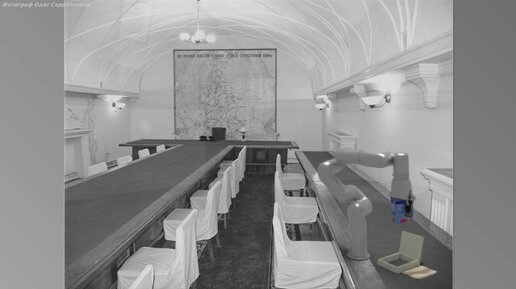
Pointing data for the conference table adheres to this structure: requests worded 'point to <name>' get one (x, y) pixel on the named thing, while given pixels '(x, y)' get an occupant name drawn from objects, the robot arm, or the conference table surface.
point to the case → (405, 253)
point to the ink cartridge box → (400, 211)
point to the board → (419, 272)
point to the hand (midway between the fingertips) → (402, 210)
